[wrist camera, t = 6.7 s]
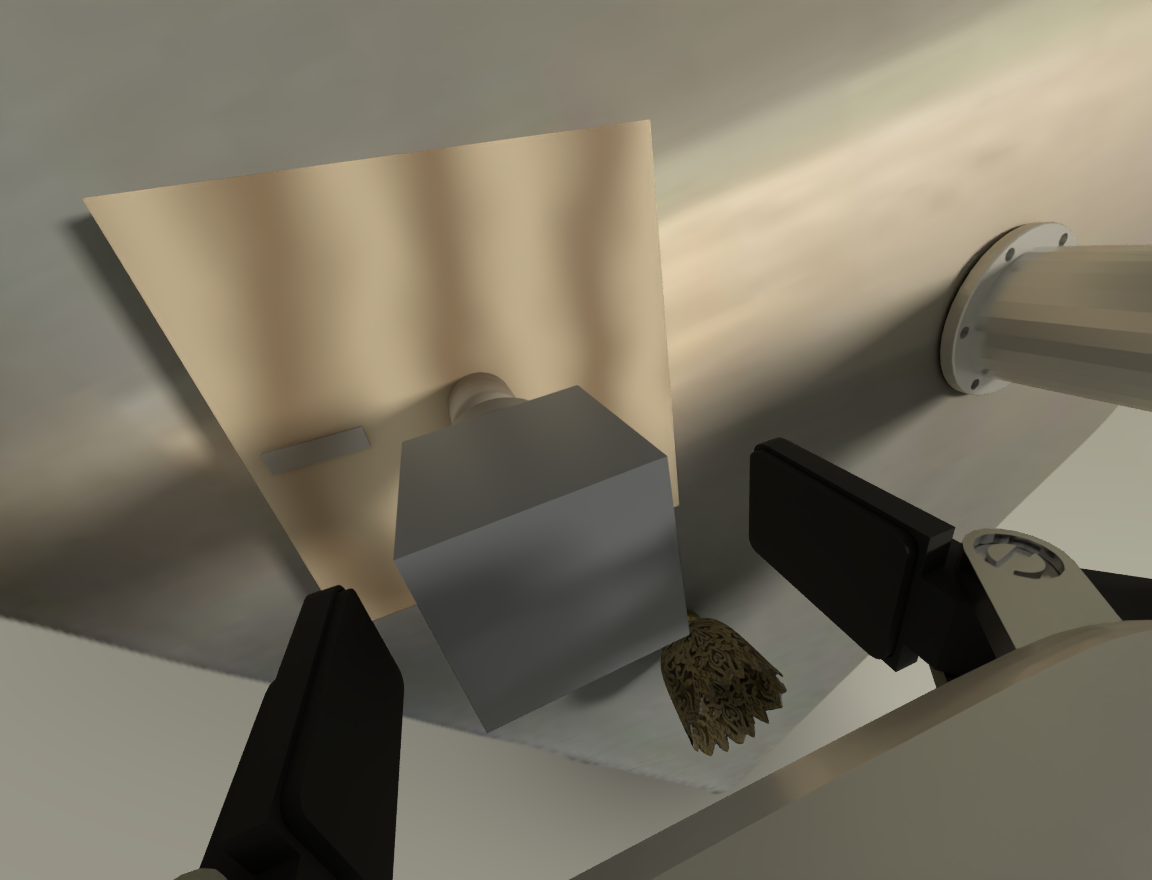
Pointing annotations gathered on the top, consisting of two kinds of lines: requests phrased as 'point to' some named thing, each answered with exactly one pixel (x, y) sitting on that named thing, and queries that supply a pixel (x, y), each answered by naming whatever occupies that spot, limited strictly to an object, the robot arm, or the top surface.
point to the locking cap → (539, 548)
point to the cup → (718, 684)
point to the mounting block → (402, 313)
